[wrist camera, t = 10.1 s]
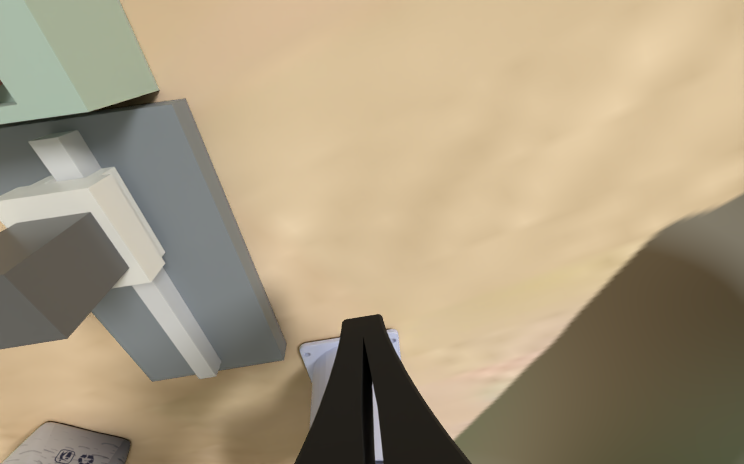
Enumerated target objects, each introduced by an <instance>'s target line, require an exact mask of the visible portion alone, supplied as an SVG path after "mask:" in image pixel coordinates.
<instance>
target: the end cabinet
mask: <svg viewBox="0 0 744 464" xmlns="http://www.w3.org/2000/svg"><path fill="white" fill-rule="evenodd" d="M0 80H1V82H2V83H3V84H2V85H0V124H6V123H13V122H20V121H27V120H34V119H41V118H49V117H56V116H63V115H70V114H77V113H84V112H90V111H93V110H97V109H100V108H103V107H106V106H110V105H113V104H116V103H119V102H123V101H126V100H129V99H132V98H136V97H139V96H142V95H145V94H149V93H152V92H155V91H158V90H159V88H158V86H157V83H156V81H155V79H154V77H153V75H152V72H151V70H150V68H149V66H148V63H147V61H146V59H145V57H144V55H143V52H142V50H141V48H140V46H139V43H138V41H137V39H136V37H135V34H134V32H133V30H132V28H131V26H130V23H129V21H128V19H127V17H126V14H125V12H124V10H123V8H122V5H121V3H120V1H119V0H0Z"/></svg>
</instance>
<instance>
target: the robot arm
mask: <svg viewBox="0 0 744 464" xmlns="http://www.w3.org/2000/svg"><path fill="white" fill-rule="evenodd" d="M300 353H301V356H302V359H303V361H304V364H305V366H306V369H307V372H308V374H309V377H310V379H311V382H312V397H311V413H310V429H309V433H308V435H307V437H306V440H305V442H304V444H303V446H302V449H301V451H300V453H299V455H298V457H297V459H296V461H295V463H294V464H471V463H470V461H469V460H468V459H467V457H466V456H465V455H464V453H463V452H462V451H461V450H460V448H459V447H458V446H457V445H456V444H455V442H454V441H453V440H452V438H451V437H450V436H449V434H448V433H447V432H446V430H445V429H444V428H443V426H442V425H441V424H440V422H439V421H438V419H437V418H436V417H435V415H434V414H433V412H432V411H431V409H430V408H429V407H428V405H427V404H426V402H425V401H424V399H423V397H422V396H421V394H420V393H419V391H418V390H417V388H416V386H415V385H414V383H413V382H412V380H411V378H410V376H409V375H408V373H407V371H406V370H405V368H404V366H403V364H402V362H401V356H400V347H399V337H398V332H397V330H395V329H389V330H386V328H385V325H384V322H383V318H382V316H381V315H379V314H377V315H371V316H364V317H358V318H352V319H346V320H344V321H343V322H342V329H341V335H340V338H334V339H327V340H321V341H315V342H309V343H304V344H302V345H301V346H300Z"/></svg>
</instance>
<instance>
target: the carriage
mask: <svg viewBox="0 0 744 464" xmlns="http://www.w3.org/2000/svg"><path fill="white" fill-rule="evenodd" d="M0 221H1V222H2V223H3V224H4V225H5V226H6V228H7V229H5V230H3V231H2V232H0V349H5V348H11V347H18V346H24V345H30V344H37V343H43V342H49V341H55V340H62V339H67V338H68V337H69V336H70V335H71V334H72V333H73V332H74V330H75V329H76V328H77V327H78V326H79V325H80V324H81V322H82V321H83V320H84V319H85V318H86V317H87V316H88V315H89V313H90V312H91V311H92V310H93V309H94V308H95V307H96V305H97V304H98V303H99V302H100V301H101V300H102V299H103V298H104V296H105V295H106V294H107V293H108V292H109V291H110V290H111V288H118V287H124V286H131V285H137V284H144V283H150V282H152V281H153V279H154V278H155V276H156V275H157V274H158V272H159V271H160V270H161V268H162V267H163V266H164V264H165V262H164V260H163V258H162V256H163V255H164V253H165V251H164V249H163V247H162V246H161V244H160V242H159V241H158V239H157V237H156V236H155V234H154V232H153V231H152V229H151V227H150V226H149V224H148V222H147V221H146V219H145V217H144V216H143V214H142V212H141V210H140V209H139V207H138V205H137V204H136V202H135V200H134V199H133V197H132V195H131V194H130V192H129V190H128V189H127V187H126V185H125V184H124V182H123V180H122V179H121V177H120V175H119V174H118V172H117V170H116V168H115V167H108V168H101V169H100V170H98V171H96V172H94V173H93V174H91V175H89V176H87V177H86V178H79V179H72V180H65V181H58V182H57V181H56V180H55V178H54V177H53V176H48V177H46V178H44V179H42V180H40V181H38V182H36V183H34V184H32V185H30V186H24V187H17V188H15V189H13V190H11V191H9V192H7V193H5V194H3V195H1V196H0Z"/></svg>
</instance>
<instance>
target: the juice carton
mask: <svg viewBox="0 0 744 464" xmlns="http://www.w3.org/2000/svg"><path fill="white" fill-rule="evenodd" d="M129 449H130V442H129V441H128V440H126V439H122V438H118V437H114V436H110V435H105V434H100V433H96V432H92V431H88V430H84V429H80V428H76V427H72V426H68V425H64V424H59V423H54V422H47V423H44V424H43V425H41V426H40V427H39V428H38V429H36V430H35V431H34V432H33V433H32V434H31V435H30V436H29V437H28V438H27V439H26V440H25V441H24V442H23V443H22V444H21V445H19V446H18V447H17V448H16V449H15V450H14V451H13V452H12V453H11V454H10V455H9V456H8V457H7V458H6V459H5V460H4V461H3V462H2V463H1V464H125V462H126V459H127V456H128V453H129Z"/></svg>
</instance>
